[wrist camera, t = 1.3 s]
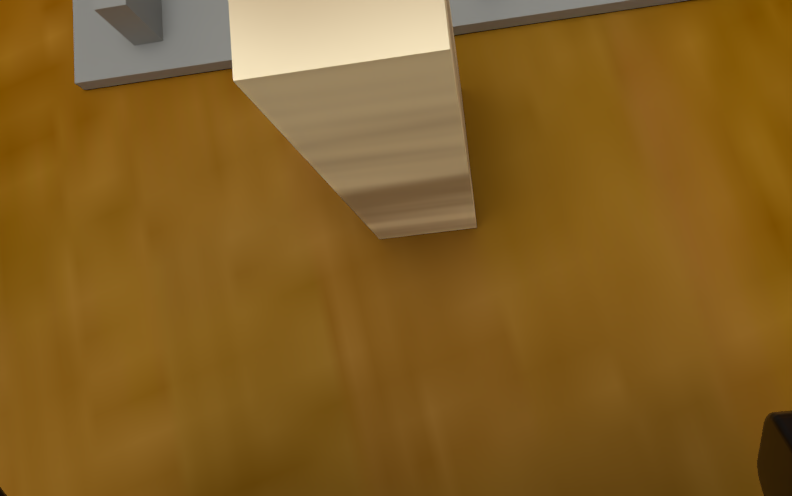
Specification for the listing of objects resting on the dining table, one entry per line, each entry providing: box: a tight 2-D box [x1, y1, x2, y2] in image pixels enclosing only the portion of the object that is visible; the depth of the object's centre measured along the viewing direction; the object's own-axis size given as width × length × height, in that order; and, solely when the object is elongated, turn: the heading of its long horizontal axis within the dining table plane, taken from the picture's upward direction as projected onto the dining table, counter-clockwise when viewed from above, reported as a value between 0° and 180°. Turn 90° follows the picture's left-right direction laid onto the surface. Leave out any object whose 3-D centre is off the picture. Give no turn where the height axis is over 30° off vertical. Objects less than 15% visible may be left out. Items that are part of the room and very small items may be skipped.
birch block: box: [228, 0, 477, 239], centre depth 17 cm, size 4×3×13 cm, turn 6°
